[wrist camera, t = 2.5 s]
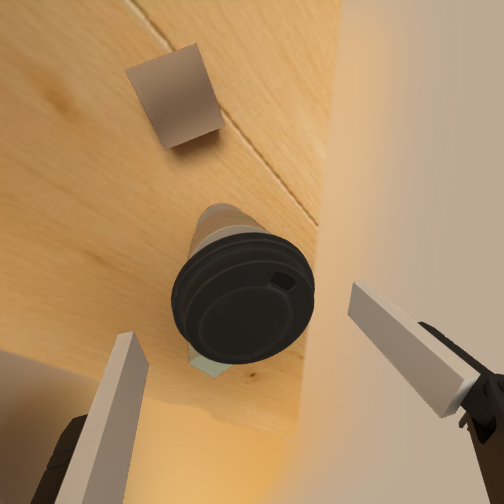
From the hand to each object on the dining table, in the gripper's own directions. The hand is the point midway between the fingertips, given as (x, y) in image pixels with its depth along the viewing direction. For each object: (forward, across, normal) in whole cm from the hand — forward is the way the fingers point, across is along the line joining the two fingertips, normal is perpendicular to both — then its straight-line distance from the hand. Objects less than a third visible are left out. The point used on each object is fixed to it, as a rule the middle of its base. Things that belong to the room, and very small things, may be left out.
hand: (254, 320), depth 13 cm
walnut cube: (+15, -2, +12) cm, 19 cm away
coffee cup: (+15, 0, 0) cm, 15 cm away
